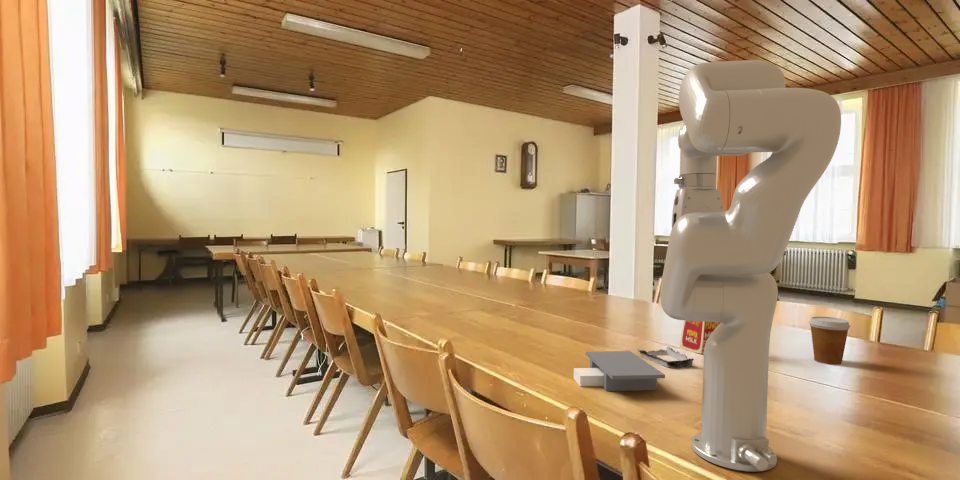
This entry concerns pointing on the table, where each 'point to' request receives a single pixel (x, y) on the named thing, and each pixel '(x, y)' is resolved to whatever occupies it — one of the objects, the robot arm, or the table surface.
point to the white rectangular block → (589, 376)
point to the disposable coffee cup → (829, 339)
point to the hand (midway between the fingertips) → (695, 265)
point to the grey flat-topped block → (624, 370)
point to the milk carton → (696, 335)
